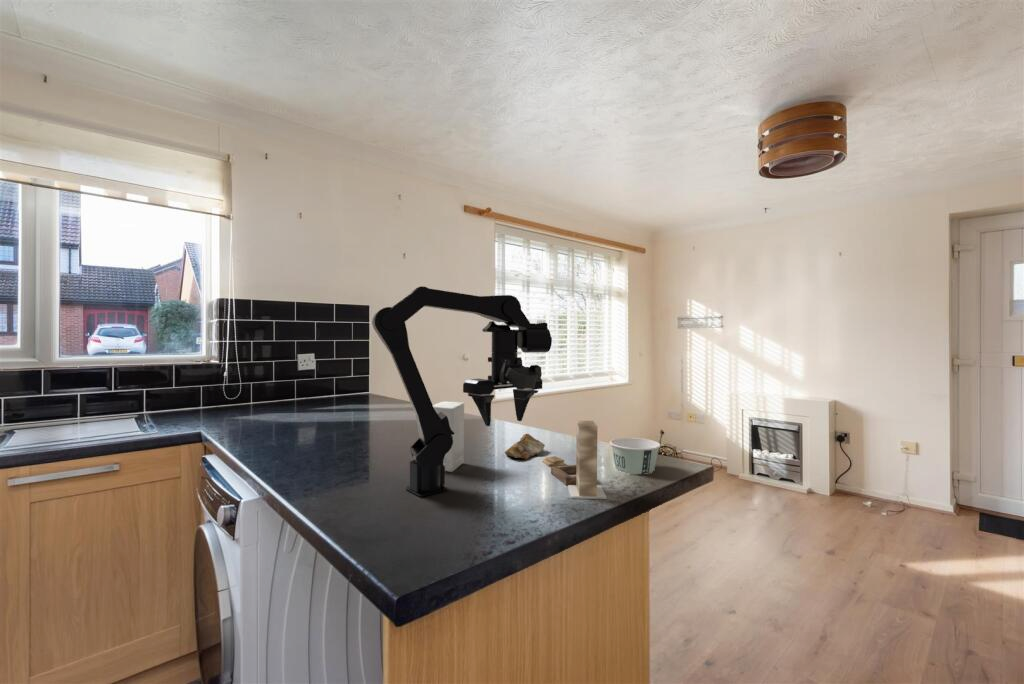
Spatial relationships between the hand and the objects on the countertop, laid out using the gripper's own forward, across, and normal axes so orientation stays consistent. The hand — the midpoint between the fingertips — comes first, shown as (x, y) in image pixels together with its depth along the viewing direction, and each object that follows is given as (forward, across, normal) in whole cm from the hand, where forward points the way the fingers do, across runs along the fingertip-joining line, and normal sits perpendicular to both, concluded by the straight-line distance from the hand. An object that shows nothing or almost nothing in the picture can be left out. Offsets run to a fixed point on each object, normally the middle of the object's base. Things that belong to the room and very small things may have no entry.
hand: (504, 423), depth 103 cm
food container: (+13, +31, -13) cm, 36 cm away
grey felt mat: (+13, +8, -16) cm, 23 cm away
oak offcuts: (+13, +19, +3) cm, 24 cm away
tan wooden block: (+13, +8, -16) cm, 22 cm away
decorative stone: (+14, +20, +15) cm, 28 cm away
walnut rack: (+13, +14, -8) cm, 21 cm away
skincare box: (+13, -3, +18) cm, 23 cm away
